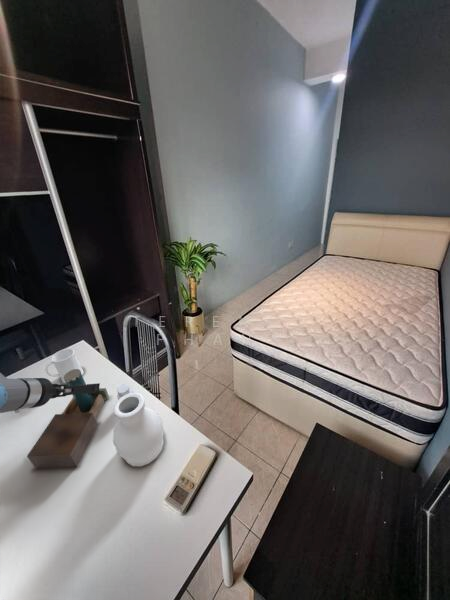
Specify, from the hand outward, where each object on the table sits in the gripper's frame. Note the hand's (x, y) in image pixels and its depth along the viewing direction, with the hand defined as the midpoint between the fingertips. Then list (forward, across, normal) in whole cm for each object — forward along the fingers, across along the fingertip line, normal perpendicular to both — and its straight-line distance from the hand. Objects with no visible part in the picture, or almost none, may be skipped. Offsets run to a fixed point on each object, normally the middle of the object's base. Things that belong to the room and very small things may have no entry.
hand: (79, 388), depth 85 cm
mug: (+20, -17, +4) cm, 27 cm away
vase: (-2, +24, -18) cm, 31 cm away
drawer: (+7, 0, -8) cm, 11 cm away
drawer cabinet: (-1, 0, -17) cm, 17 cm away
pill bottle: (+10, +14, -7) cm, 18 cm away
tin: (+7, 0, -7) cm, 10 cm away
